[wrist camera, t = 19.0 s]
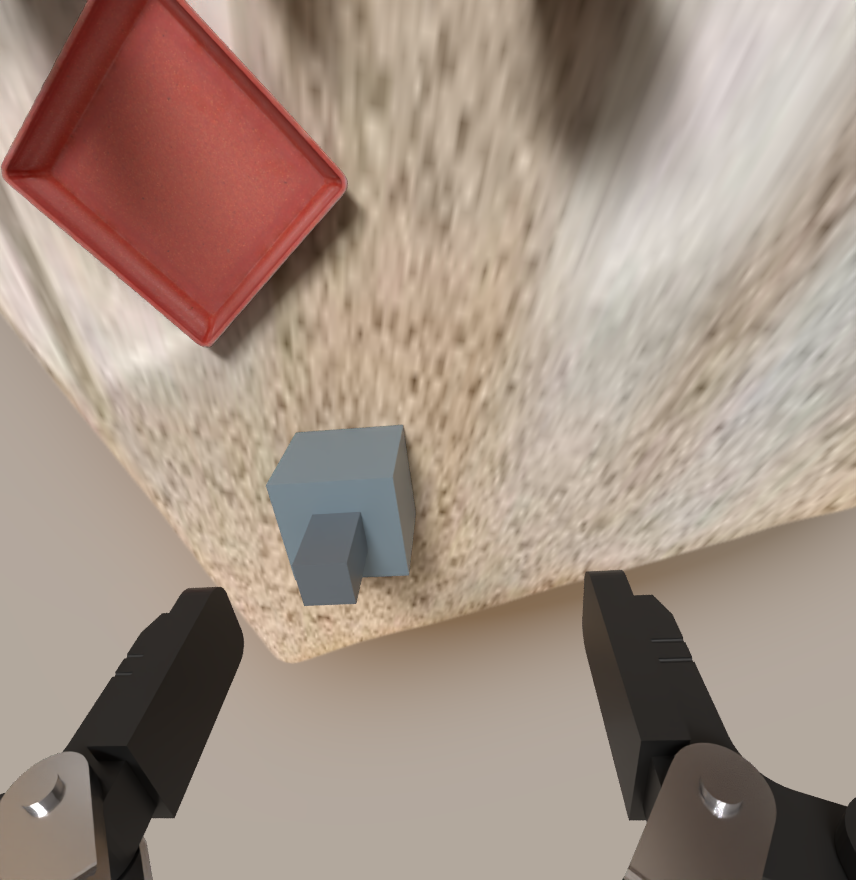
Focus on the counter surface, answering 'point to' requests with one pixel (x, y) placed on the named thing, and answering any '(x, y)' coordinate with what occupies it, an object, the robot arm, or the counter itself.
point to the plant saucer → (170, 162)
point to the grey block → (344, 509)
